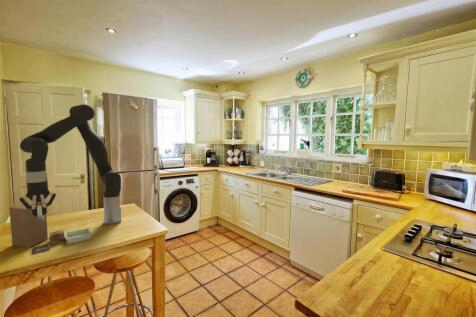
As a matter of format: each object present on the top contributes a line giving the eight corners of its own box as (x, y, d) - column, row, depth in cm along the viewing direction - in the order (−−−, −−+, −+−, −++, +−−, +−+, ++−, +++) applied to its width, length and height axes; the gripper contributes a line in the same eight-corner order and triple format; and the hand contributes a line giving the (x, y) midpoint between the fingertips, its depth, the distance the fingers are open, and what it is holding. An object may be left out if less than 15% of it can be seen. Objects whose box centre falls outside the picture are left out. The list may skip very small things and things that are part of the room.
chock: (64, 238, 122) (63, 229, 122) (64, 241, 119) (64, 232, 118) (49, 241, 118) (49, 232, 118) (49, 245, 115) (49, 235, 114)
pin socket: (50, 244, 115) (49, 243, 115) (50, 249, 110) (50, 248, 110) (33, 248, 111) (33, 247, 111) (33, 253, 106) (33, 252, 106)
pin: (45, 219, 111) (43, 199, 110) (45, 221, 109) (43, 201, 107) (35, 220, 109) (34, 200, 108) (35, 222, 106) (33, 202, 105)
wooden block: (27, 248, 111) (24, 209, 108) (11, 245, 113) (8, 207, 110) (48, 239, 120) (46, 203, 118) (33, 236, 122) (30, 201, 120)
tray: (89, 232, 130) (88, 227, 129) (91, 239, 122) (91, 233, 122) (65, 237, 123) (64, 232, 122) (66, 245, 115) (66, 239, 115)
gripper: (55, 177, 114) (58, 210, 116) (17, 180, 105) (20, 216, 107) (56, 179, 108) (58, 214, 110) (15, 183, 99) (19, 221, 101)
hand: (39, 215), depth 108 cm, fingers closed on pin, 2 cm apart
